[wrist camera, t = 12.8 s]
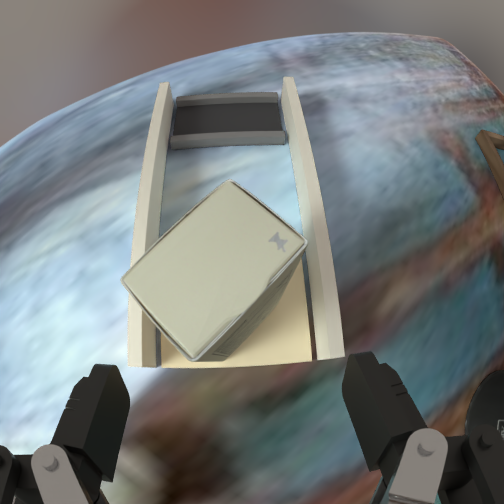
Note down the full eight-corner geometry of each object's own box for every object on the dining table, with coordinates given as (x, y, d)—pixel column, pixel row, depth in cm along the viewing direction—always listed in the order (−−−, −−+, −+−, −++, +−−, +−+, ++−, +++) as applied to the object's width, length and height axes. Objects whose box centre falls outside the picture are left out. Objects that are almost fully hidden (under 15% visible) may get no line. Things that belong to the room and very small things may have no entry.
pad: (162, 367, 21) (161, 367, 21) (163, 266, 24) (161, 264, 24) (310, 361, 22) (312, 360, 21) (300, 260, 24) (301, 258, 24)
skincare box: (237, 266, 24) (234, 169, 12) (279, 304, 23) (317, 235, 11) (177, 325, 22) (112, 277, 10) (219, 367, 21) (192, 366, 9)
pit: (172, 149, 28) (169, 141, 27) (178, 104, 31) (176, 96, 30) (284, 144, 29) (285, 136, 28) (276, 100, 31) (277, 92, 30)
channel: (144, 367, 21) (127, 366, 18) (165, 105, 31) (159, 82, 27) (330, 358, 22) (344, 356, 18) (289, 100, 31) (293, 77, 28)
